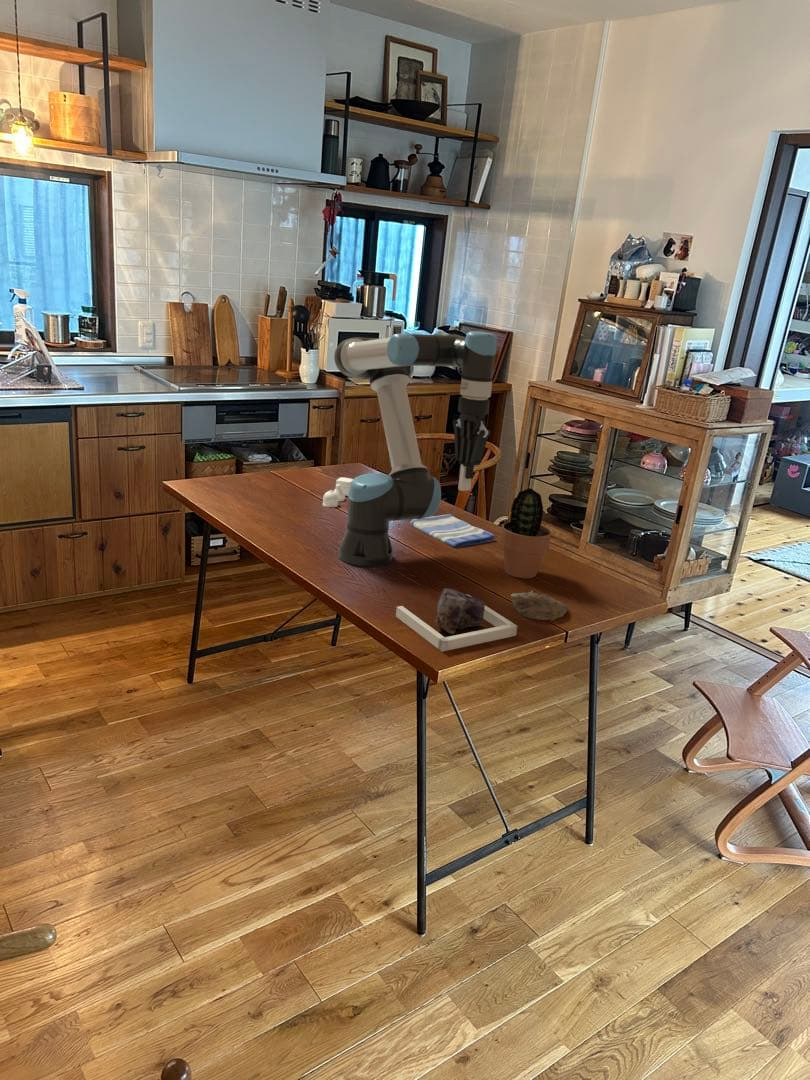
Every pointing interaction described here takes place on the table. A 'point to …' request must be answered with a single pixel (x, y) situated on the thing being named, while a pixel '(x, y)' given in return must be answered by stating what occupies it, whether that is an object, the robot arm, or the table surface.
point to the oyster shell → (538, 606)
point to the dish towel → (452, 530)
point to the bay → (462, 640)
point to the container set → (337, 493)
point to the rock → (458, 611)
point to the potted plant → (525, 536)
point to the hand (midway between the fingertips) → (464, 489)
